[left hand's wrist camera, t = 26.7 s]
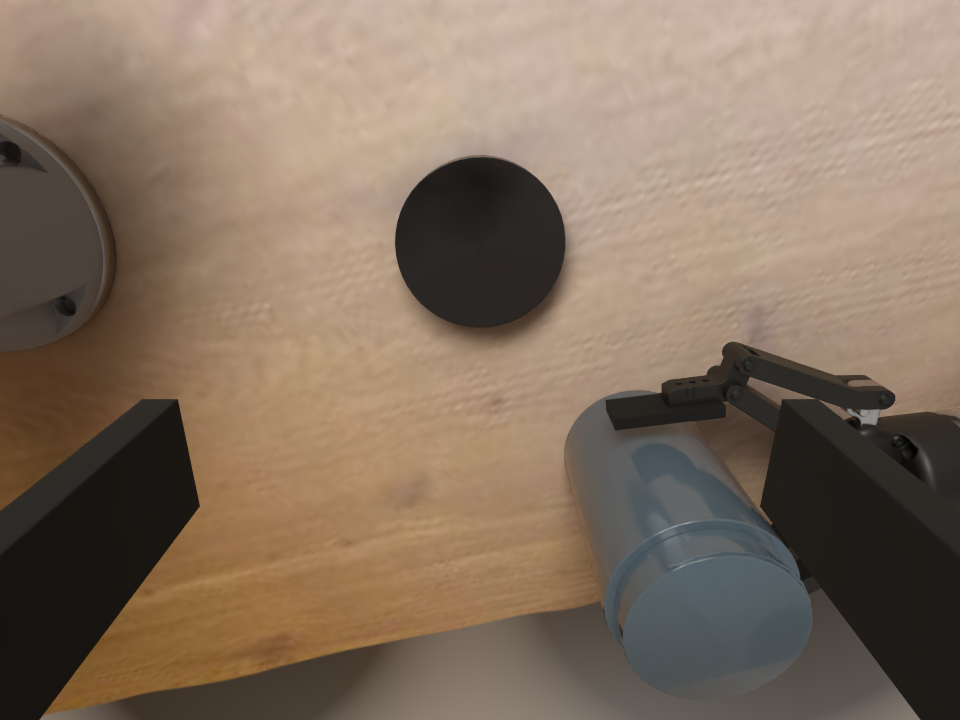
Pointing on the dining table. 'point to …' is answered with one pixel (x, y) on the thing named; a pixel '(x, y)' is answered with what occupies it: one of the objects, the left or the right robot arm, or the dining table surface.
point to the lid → (480, 241)
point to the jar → (683, 559)
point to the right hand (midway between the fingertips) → (615, 506)
